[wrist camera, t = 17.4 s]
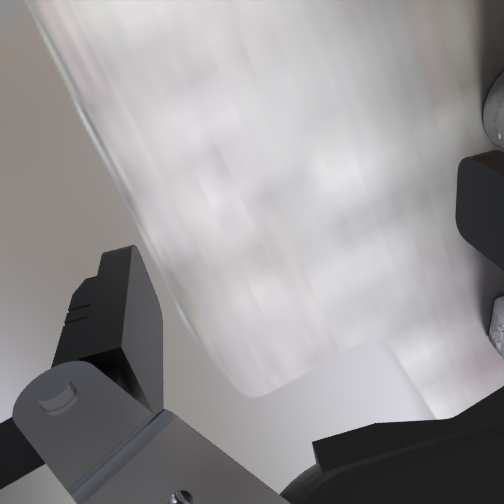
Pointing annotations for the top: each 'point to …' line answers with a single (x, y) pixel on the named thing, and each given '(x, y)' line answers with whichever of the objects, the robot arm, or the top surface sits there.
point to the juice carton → (497, 326)
